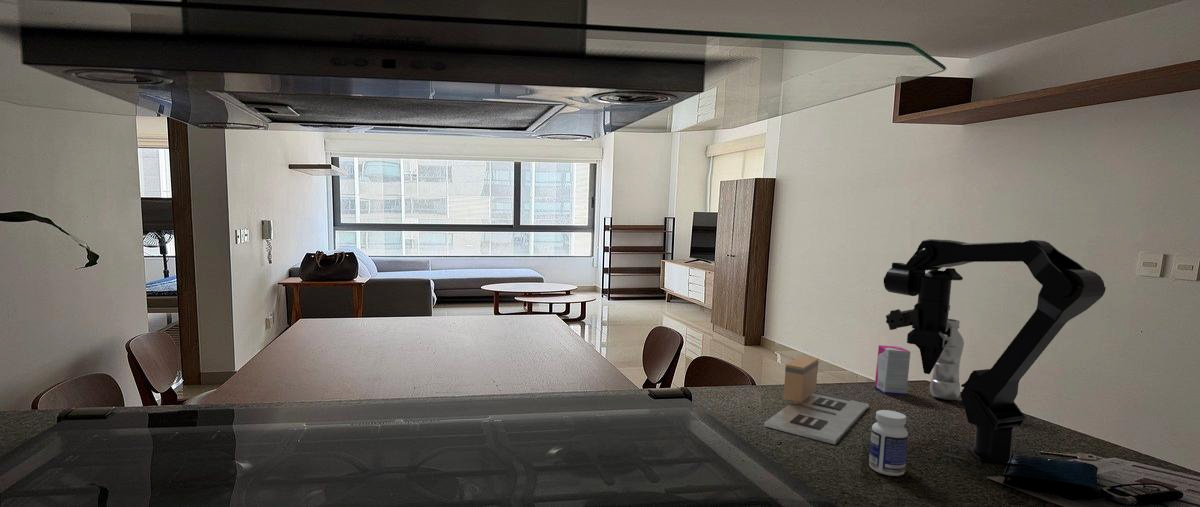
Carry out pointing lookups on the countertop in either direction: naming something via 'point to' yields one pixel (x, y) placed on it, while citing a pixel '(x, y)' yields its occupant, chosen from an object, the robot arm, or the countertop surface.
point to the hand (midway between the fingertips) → (926, 373)
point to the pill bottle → (889, 443)
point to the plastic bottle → (948, 366)
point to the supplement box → (892, 370)
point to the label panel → (818, 417)
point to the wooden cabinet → (800, 378)
